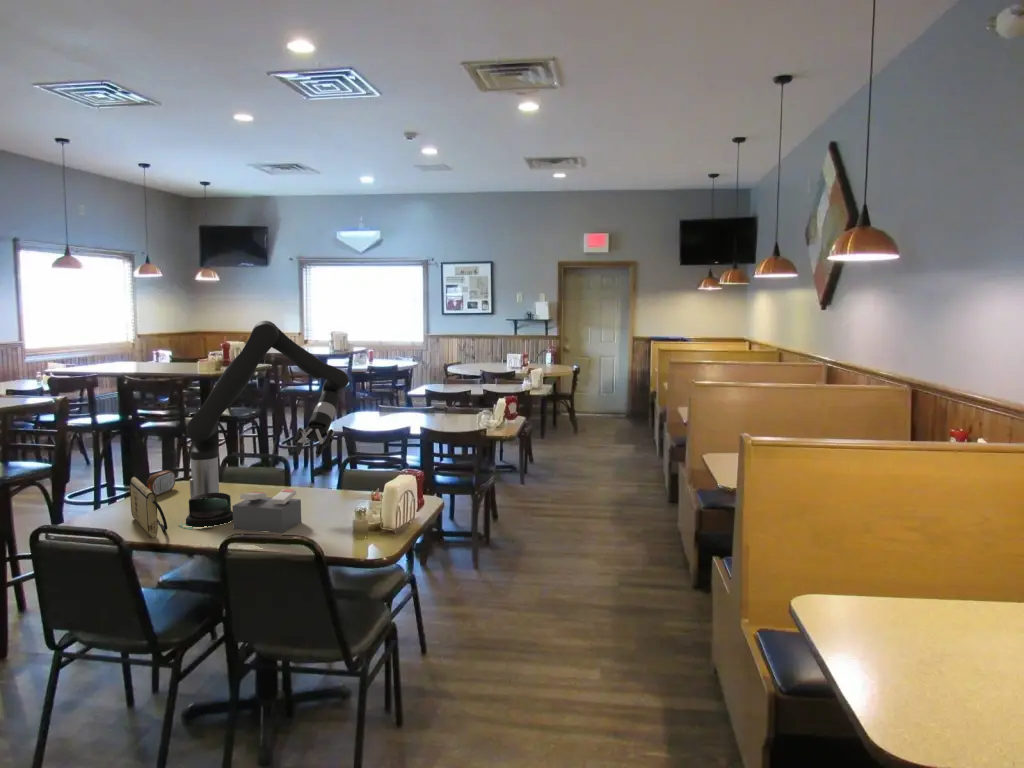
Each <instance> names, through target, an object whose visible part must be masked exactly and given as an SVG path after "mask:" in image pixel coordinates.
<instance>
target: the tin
mask: <svg viewBox="0 0 1024 768" xmlns="http://www.w3.org/2000/svg"><path fill="white" fill-rule="evenodd" d="M175 484H176V474H175V472H174V471H172V470H168V469H167V470H165V469H164V470H162V471H159V472H156V473H153V474H151V475H150V476H149V477H148V479H147V482H146V485H145V486H146V487H147V488H148V489H149V490H150V491H151V492H152V493H154V494H155V497H157V496H160V494H161V495H162V494H165V493H168V492H170V491H171V490H173V488H174V487H175ZM169 490H170V491H169ZM167 491H168V492H167Z"/></svg>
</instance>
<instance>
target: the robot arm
mask: <svg viewBox="0 0 1024 768" xmlns="http://www.w3.org/2000/svg"><path fill="white" fill-rule="evenodd" d="M271 348H272V349H274V350H275V351H278V353H280V354H282V355H284V357H286V358H287V359H288V360H289V361H291V363H293V365H295V366H296V367H297V368H299V369H300V370H301V371H302V372H304V373H306V374H307V375H308V376H309V377H312V378H313V379H315V380H319V379H323V380H325V381H324V382H323V384H322V389H321V393H320V394H321V395H320V397H319V399H318V402H317V403H316V405H315V407H314V409H313V412H312V413H311V416H310V419H309V421H308V425H307V428H303V427H299V428H298V429H297V431H296V434H295V436H294V438H293V442H294V443H295V444H296V447H295V449H294V452H295V453H296V455H298V456H299V455H301V452H302V450H303V447H304V445H306V444H308V443H310V442H319V444H318V445H317V448H316V451H315V454H316V456H317V457H320V456H321V455H323V453H324V449H325V448H326V447H330V446H332V443H333V440H334V437H335V434H336V433H335V431H334V430H333V429H332V428H331V429H330V427H331V424H332V422H333V419H334V418H335V417H334V416H335V414H336V411H337V407H338V405H339V402H340V397H339V395H340V392H341V391H342V390H344V388H346V387H347V386H348V384H349V383H350V380H349V376H348V375H347V373H346V372H345V371H344V370H342V369H340V368H338V367H335V366H333V365H330V364H327V363H325V362H324V361H323V360H321V359H320V358H318V357H317V356H315V355H313V354H312V353H311V352H309V351H308V350H306V349H304V348H303V347H301V345H299V344H297V343H296V342H294V340H292V339H291V338H290V337H289V336H287V335H286V334H285V333H284V331H282V330H281V329H280V328H279V327H278V326H277V325H276V324H275V323H274V322H272V321H269V320H261V321H259V322H257V323H256V324H255V325H254V327H253V329H252V331H251V333H250V335H249V337H248V339H247V341H246V343H245V345H244V346H243V348H242V350H241V351H240V352H239V354H237V356H236V357H234V359H232V361H231V362H230V363H229V364H228V366H227V367H226V368H225V370H224V371H223V373H221V375H220V377H219V378H218V380H217V381H216V383H215V385H214V386H213V388H212V390H211V391H210V393H209V395H208V396H207V398H206V399H205V401H204V403H203V405H201V407H200V408H199V409H198V410H197V411H196V413H195V414H194V415H193V416H192V417H191V419H189V421H188V422H187V425H186V431H185V432H186V435H187V436H188V438H189V439H190V440H191V441H193V442H192V447H191V450H190V453H189V455H190V469H191V470H190V471H191V472H190V473H191V475H190V476H191V478H190V479H189V492H190V494H189V495H190V498H192V497H194V496H197V495H200V494H205V493H220V481H219V480H220V479H219V477H220V476H219V460H218V459H219V458H218V455H219V454H218V452H219V448H220V446H219V445H220V437H219V436H220V433H219V431H220V429H219V424H218V421H219V420H220V418H221V416H222V415H223V413H225V411H226V410H228V408H229V407H230V406H231V405H232V404H233V403H234V402H235V401H236V400H237V399H238V397H239V396H240V395H242V393H243V391H244V390H245V388H246V387H247V386H248V384H249V382H250V380H251V379H252V378H253V375H254V373H255V372H256V369H257V367H258V365H259V364H260V362H261V361H262V359H264V357H265V355H267V353H268V352H269V351H270V350H271ZM325 437H326V438H325ZM324 438H325V439H324Z"/></svg>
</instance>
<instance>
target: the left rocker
mask: <svg viewBox="0 0 1024 768" xmlns="http://www.w3.org/2000/svg"><path fill="white" fill-rule="evenodd" d="M239 497H240V498H239V499H240V500H256V499H262V498H266V497H267V492H265V491H264V492H261V491H260V492H259V491H253V492H247V493H241V494H240V495H239Z"/></svg>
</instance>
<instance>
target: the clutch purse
mask: <svg viewBox="0 0 1024 768" xmlns="http://www.w3.org/2000/svg"><path fill="white" fill-rule="evenodd" d="M129 494H130V512H131V515H132V518H133V519H134V520H135V521H136V522H137V523H138V524H139V525H140V526H141V527H142V528H143V529H144V531H145V532H146V533H147V534H148V535H149V537H150V538H151V537H154V538H156V537H157V535H158V530H159V529H158V528H159V525H160V528H161V529H162V531H167V530H168V523H167V519H166V517H165V514H164V512H163V509H162V507H161V505H160V504H159V503H158V502H157V496H155V494H154V493H152V492H151V491H150V490H149V489H148V488H147V487H146V485H145V484H144V483H143V482H141V480H139V479H138V478H137V477H136V476H132V477H130V481H129ZM158 512H159V514H160V517H161V520H162V523H163V524H162V523H161V521H160V520H159V519H158ZM160 523H161V524H160Z"/></svg>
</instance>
